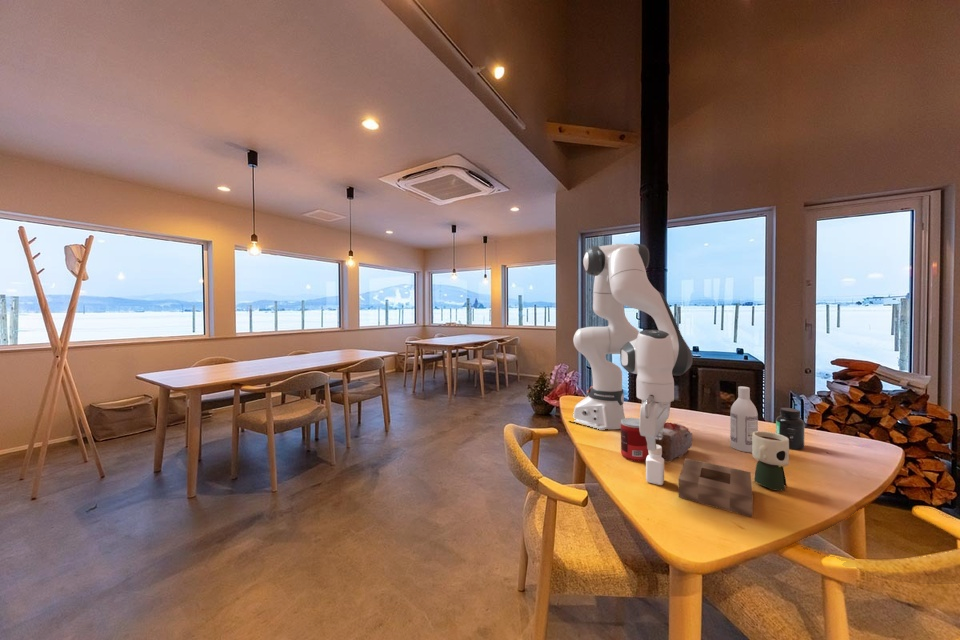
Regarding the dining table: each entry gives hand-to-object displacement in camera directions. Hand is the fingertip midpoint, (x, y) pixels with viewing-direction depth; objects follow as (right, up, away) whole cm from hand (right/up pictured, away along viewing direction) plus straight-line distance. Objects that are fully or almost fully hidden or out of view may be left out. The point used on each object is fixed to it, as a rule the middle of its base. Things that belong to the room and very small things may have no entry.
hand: (655, 444), depth 89 cm
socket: (+12, -10, -6) cm, 17 cm away
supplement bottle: (+55, -9, +21) cm, 60 cm away
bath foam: (+39, -9, +20) cm, 45 cm away
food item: (+14, -10, +17) cm, 25 cm away
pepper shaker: (0, -10, +1) cm, 10 cm away
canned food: (+2, -10, +16) cm, 19 cm away
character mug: (+28, -10, -3) cm, 30 cm away
